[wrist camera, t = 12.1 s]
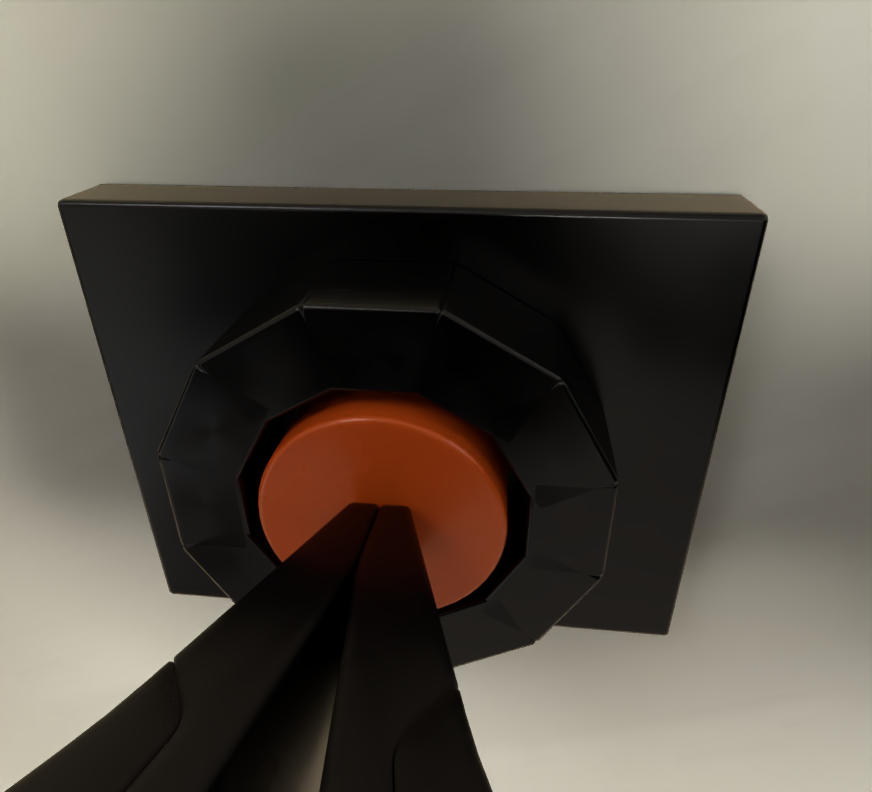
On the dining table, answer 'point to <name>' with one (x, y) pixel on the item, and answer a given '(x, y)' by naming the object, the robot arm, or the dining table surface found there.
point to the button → (392, 481)
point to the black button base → (430, 368)
